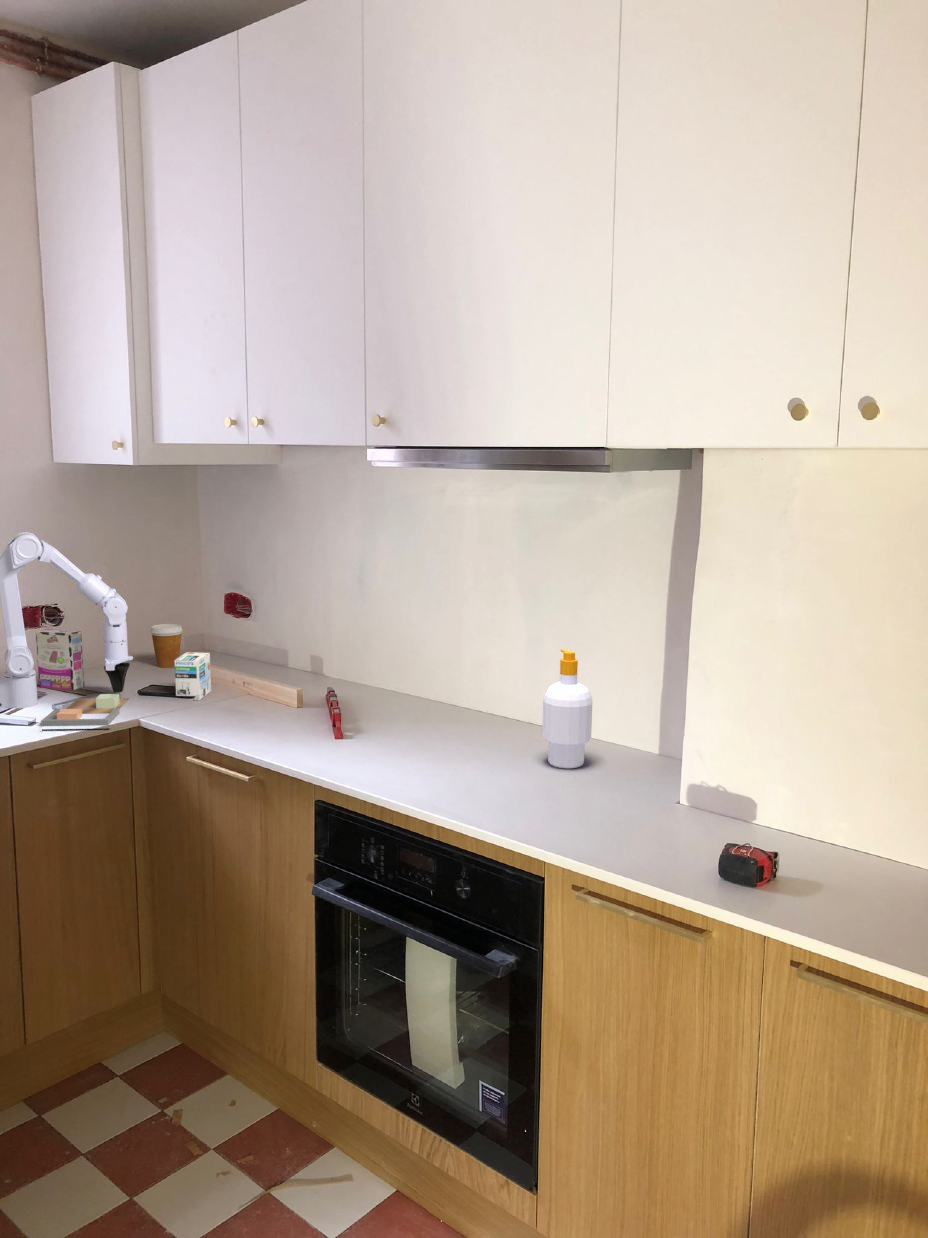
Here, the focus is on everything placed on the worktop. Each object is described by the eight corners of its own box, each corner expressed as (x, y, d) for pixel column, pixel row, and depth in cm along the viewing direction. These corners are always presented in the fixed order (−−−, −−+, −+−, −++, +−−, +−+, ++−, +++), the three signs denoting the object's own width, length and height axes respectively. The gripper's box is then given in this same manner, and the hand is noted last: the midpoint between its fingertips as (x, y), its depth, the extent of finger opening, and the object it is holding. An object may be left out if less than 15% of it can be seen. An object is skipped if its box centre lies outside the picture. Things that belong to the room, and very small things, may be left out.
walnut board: (60, 718, 237) (59, 713, 237) (77, 703, 251) (77, 698, 251) (115, 718, 238) (115, 713, 238) (129, 702, 253) (129, 698, 252)
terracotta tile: (57, 724, 231) (56, 714, 231) (63, 719, 235) (62, 709, 235) (77, 724, 231) (76, 713, 231) (82, 718, 236) (81, 708, 235)
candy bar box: (85, 690, 265) (82, 630, 262) (73, 694, 260) (69, 633, 258) (51, 686, 268) (47, 627, 266) (38, 691, 264) (34, 631, 261)
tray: (41, 731, 227) (41, 720, 226) (56, 718, 237) (55, 708, 237) (108, 730, 228) (107, 719, 228) (119, 717, 239) (119, 707, 238)
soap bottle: (576, 754, 214) (579, 646, 210) (599, 768, 205) (603, 655, 201) (533, 759, 211) (536, 649, 206) (554, 773, 201) (558, 658, 197)
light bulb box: (200, 700, 256) (199, 660, 254) (175, 700, 256) (173, 660, 254) (211, 690, 266) (210, 651, 264) (187, 690, 266) (185, 651, 264)
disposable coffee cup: (149, 663, 298) (148, 624, 296) (182, 661, 302) (180, 622, 300) (153, 670, 290) (151, 630, 288) (186, 667, 294) (185, 628, 291)
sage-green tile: (96, 708, 242) (95, 698, 242) (101, 703, 247) (100, 694, 246) (114, 708, 243) (114, 698, 242) (119, 703, 247) (118, 693, 247)
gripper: (124, 645, 246) (127, 698, 248) (138, 635, 260) (140, 684, 262) (95, 646, 245) (98, 698, 248) (110, 635, 259) (113, 685, 262)
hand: (118, 691), depth 255 cm, fingers closed
